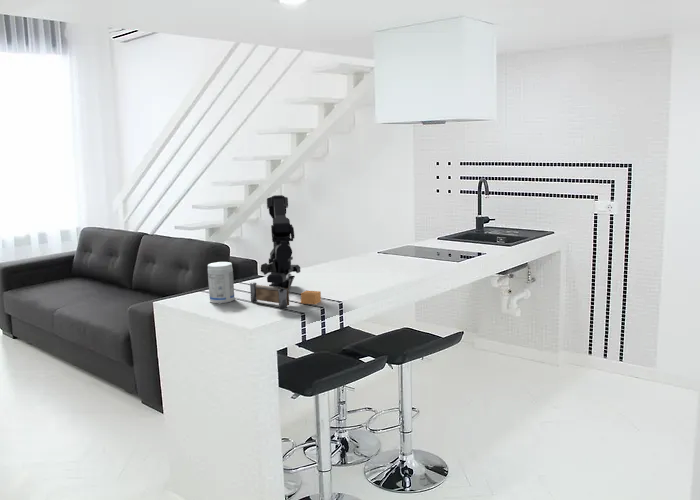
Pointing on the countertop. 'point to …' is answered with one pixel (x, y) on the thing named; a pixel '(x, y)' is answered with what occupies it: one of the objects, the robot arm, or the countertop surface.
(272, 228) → the robot arm
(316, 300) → the orange-brown rectangular block
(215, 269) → the supplement tub
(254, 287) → the gate posts
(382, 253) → the countertop surface
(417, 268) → the countertop surface
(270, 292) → the gate
